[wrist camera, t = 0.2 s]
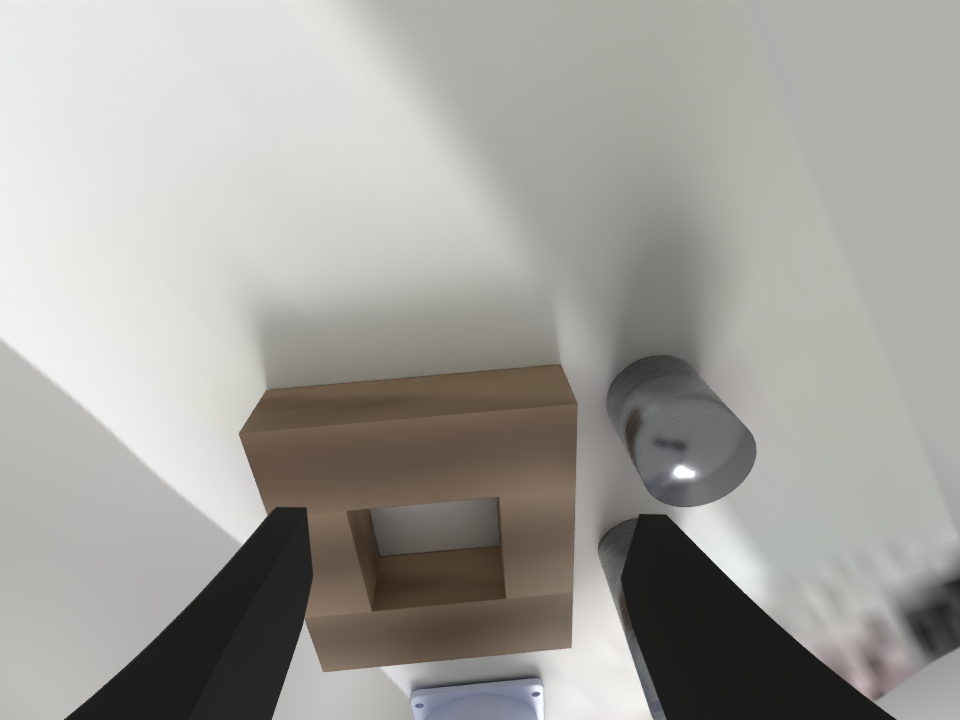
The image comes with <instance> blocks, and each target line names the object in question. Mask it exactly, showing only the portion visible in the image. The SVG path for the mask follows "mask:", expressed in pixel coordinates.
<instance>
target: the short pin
mask: <svg viewBox="0 0 960 720" xmlns="http://www.w3.org/2000/svg"><path fill="white" fill-rule="evenodd" d="M607 411H608V414H609V416H610V418H611V420H612V422H613V424H614V426H615V428H616V430H617V432H618V434H619V436H620V438H621V440H622V442H623V444H624V446H625V448H626V449H627V451H628V453H629V455H630V457H631V459H632V461H633V463H634V465H635V467H636V469H637V471H638V473H639V475H640V477H641V479H642V481H643V483H644V485H645V486H646V488H647V490H648V491H649V493H650V494H651V495H652V496H653V497H655V498H656V499H657V500H659V501H661V502H663V503H665V504H668V505H672V506H677V507H694V506H700V505H704V504H708V503H711V502H714V501H716V500H718V499H720V498H722V497H724V496H726V495H727V494H729V493H730V492H732V491H733V490H734V489H736V488H737V487H738V486H739V485H740V484H741V483H742V482H743V481H744V480H745V478H746V477H747V476H748V474H749V473H750V471H751V469H752V467H753V465H754V462H755V458H756V443H755V440H754V437H753V435H752V434H751V432H750V431H749V430H748V429H747V427H746V426H745V425H744V424H743V423H742V422H741V421H740V420H739V419H738V418H737V417H736V415H735V414H734V413H733V412H732V411H731V410H730V409H729V408H728V407H727V406H726V405H725V403H724V402H723V401H722V400H721V399H720V398H719V397H718V396H717V395H716V394H715V393H714V392H713V390H712V389H711V388H710V387H709V386H708V385H707V384H706V383H705V382H704V381H703V380H702V378H701V377H700V376H699V375H698V374H697V373H696V372H695V371H694V370H693V369H692V368H691V367H690V365H688V364H687V363H686V362H684V361H683V360H681V359H678V358H676V357H672V356H664V355H660V356H651V357H647V358H643V359H641V360H638V361H636V362H634V363H632V364H631V365H629V366H628V367H626V368H625V369H624V370H623V371H622V372H621V373H620V374H619V375H618V376H617V377H616V378H615V380H614V381H613V383H612V384H611V386H610V389H609V391H608V395H607Z"/></svg>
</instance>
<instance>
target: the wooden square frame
mask: <svg viewBox="0 0 960 720" xmlns="http://www.w3.org/2000/svg"><path fill="white" fill-rule="evenodd" d="M239 436H240V439H241V442H242V444H243V447H244V450H245V453H246V456H247V459H248V461H249V464H250V467H251V470H252V473H253V475H254V478H255V481H256V484H257V487H258V489H259V492H260V495H261V498H262V501H263V504H264V506H265V509H266V512H267V515H269V514H270V512H271V511H272V510H273V509H275V508H276V507H307V517H308V527H309V537H310V547H311V557H312V567H313V580H312V585H311V590H310V595H309V599H308V604H307V608H306V613H305V617H304V619H305V622H306V624H307V627H308V630H309V633H310V636H311V638H312V641H313V644H314V647H315V650H316V652H317V655H318V658H319V661H320V664H321V667H322V670H323V672H330V671H340V670H350V669H360V668H371V667H381V666H391V665H401V664H412V663H422V662H432V661H442V660H453V659H463V658H473V657H484V656H494V655H504V654H514V653H525V652H535V651H545V650H555V649H566V648H571V645H572V605H573V565H574V525H575V485H576V445H577V401H576V399H575V397H574V394H573V392H572V390H571V387H570V385H569V383H568V380H567V378H566V376H565V373H564V371H563V369H562V366H561V365H550V366H539V367H527V368H516V369H504V370H493V371H481V372H470V373H458V374H447V375H435V376H424V377H412V378H401V379H389V380H378V381H367V382H355V383H344V384H332V385H321V386H309V387H298V388H286V389H275V390H266V392H265V393H264V395H263V396H262V398H261V399H260V401H259V403H258V404H257V406H256V407H255V409H254V411H253V412H252V414H251V415H250V417H249V418H248V420H247V422H246V423H245V425H244V426H243V428H242V429H241V431H240V433H239ZM492 497H497V510H498V524H499V538H500V546H495V547H484V548H473V549H463V550H452V551H441V552H431V553H420V554H409V555H398V556H388V557H380V555H379V550H378V546H377V541H376V537H375V533H374V528H373V524H372V519H371V515H370V511H369V509H372V508H383V507H394V506H405V505H416V504H426V503H437V502H448V501H459V500H470V499H481V498H492Z"/></svg>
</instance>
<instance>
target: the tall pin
mask: <svg viewBox="0 0 960 720" xmlns="http://www.w3.org/2000/svg"><path fill="white" fill-rule="evenodd" d="M637 521H638V518H635V519H631V520H628V521H625V522H622V523H620V524H618V525H616V526H615V527H613V528H612V529H611V530H609V531H608V532H607V533H606V534H605V536H604V537H603V538H602V540H601V542H600V544H599V549H598V555H599V558H600V562H601V565H602V568H603V571H604V574H605V577H606V580H607V583H608V586H609V589H610V592H611V595H612V598H613V601H614V604H615V607H616V610H617V613H618V616H619V619H620V622H621V625H622V628H623V631H624V634H625V637H626V640H627V643H628V646H629V649H630V652H631V655H632V658H633V661H634V664H635V667H636V670H637V673H638V676H639V679H640V682H641V685H642V688H643V691H644V694H645V697H646V700H647V703H648V706H649V709H650V712H651V715H652V718H653V719H654V720H666V717H665V715H664V712H663V709H662V706H661V704H660V701H659V698H658V696H657V693H656V690H655V688H654V685H653V682H652V680H651V677H650V674H649V672H648V669H647V666H646V664H645V661H644V658H643V655H642V653H641V650H640V647H639V644H638V642H637V639H636V636H635V633H634V631H633V628H632V625H631V621H630V617H629V613H628V609H627V605H626V601H625V597H624V592H623V588H622V583H621V579H620V578H621V575H622V571H623V568H624V565H625V561H626V558H627V555H628V551H629V548H630V544H631V541H632V538H633V534H634V531H635V527H636V524H637Z"/></svg>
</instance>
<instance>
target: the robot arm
mask: <svg viewBox="0 0 960 720" xmlns="http://www.w3.org/2000/svg"><path fill="white" fill-rule="evenodd" d="M620 579H621V583H622V588H623V592H624V597H625V601H626V605H627V609H628V613H629V617H630V621H631V625H632V628H633V631H634V633H635V636H636V639H637V642H638V644H639V647H640V650H641V653H642V655H643V658H644V661H645V664H646V666H647V669H648V672H649V674H650V677H651V680H652V682H653V685H654V688H655V690H656V693H657V696H658V698H659V701H660V704H661V706H662V709H663V712H664V715H665V717H666V720H896V719H895V718H894V717H892V716H890V715H889V714H888V713H886V712H885V711H884V710H882V709H881V708H880V707H878V706H877V705H876V704H875V703H873V702H872V701H871V700H869V699H868V698H867V697H865V696H864V695H863V694H861V693H860V692H859V691H857V690H856V689H855V688H854V687H852V686H851V685H850V684H849V683H847V682H846V681H845V680H844V679H842V678H841V677H840V676H839V675H837V674H836V673H835V672H834V671H832V670H831V669H830V668H829V667H827V666H826V665H825V664H824V663H822V662H821V661H820V660H819V659H818V658H816V657H815V656H814V655H813V654H812V653H810V652H809V651H808V650H807V649H806V648H805V647H803V646H802V645H801V644H800V643H799V642H798V641H796V640H795V639H794V638H793V637H792V636H791V635H790V634H789V633H787V632H786V631H785V630H784V629H783V628H782V627H781V626H780V625H778V624H777V623H776V622H775V621H774V620H773V619H772V618H771V617H770V616H768V615H767V614H766V613H765V612H764V611H763V610H762V609H761V608H760V607H759V606H758V605H757V604H756V603H754V602H753V601H752V600H751V599H750V598H749V597H748V596H747V595H746V594H745V593H744V592H743V591H742V590H741V589H740V588H739V587H738V586H737V585H736V584H735V583H734V582H733V581H732V580H731V579H730V578H729V577H728V576H727V575H726V574H725V573H724V572H723V571H722V570H721V569H720V568H719V567H718V566H717V565H716V564H715V563H714V562H713V561H712V560H711V559H710V558H709V557H708V556H707V555H706V554H705V553H704V552H703V551H702V550H701V549H700V548H699V547H698V546H697V545H696V544H695V543H694V542H693V541H692V540H691V539H690V538H689V537H688V536H687V535H686V534H685V533H684V532H683V531H682V530H681V529H680V528H679V527H678V526H677V525H676V524H675V523H674V522H673V521H672V520H671V519H670V518H669V517H668V516H667V515H657V514H639V517H638V521H637V524H636V527H635V531H634V534H633V538H632V541H631V544H630V548H629V551H628V555H627V558H626V561H625V565H624V568H623V571H622V575H621V578H620ZM312 580H313V567H312V557H311V547H310V537H309V527H308V517H307V507H276V508H275V509H273V510H272V511H271V512H270V514H269V515H268V516H267V517H266V518H265V520H264V521H263V522H262V523H261V524H260V526H259V527H258V528H257V529H256V531H255V532H254V533H253V534H252V535H251V536H250V538H249V539H248V540H247V541H246V542H245V544H244V545H243V546H242V547H241V548H240V549H239V551H238V552H237V553H236V554H235V555H234V556H233V558H232V559H231V560H230V561H229V562H228V563H227V564H226V566H224V567H223V569H222V570H221V571H220V572H219V573H218V574H217V575H216V576H215V578H213V580H212V581H211V582H210V583H209V584H208V585H207V586H206V587H205V588H204V589H203V591H202V592H201V593H200V594H199V595H198V596H197V597H196V598H195V599H194V600H193V601H192V602H191V603H190V604H189V605H188V606H187V607H186V608H185V609H184V610H183V611H182V612H181V613H180V614H179V615H178V616H177V617H176V619H174V620H173V621H172V622H171V623H170V624H169V625H168V626H167V627H166V629H164V630H163V631H162V632H161V633H160V634H159V636H157V637H156V638H155V639H154V640H153V641H152V642H151V643H150V644H149V645H148V646H147V647H146V648H145V649H144V650H143V651H142V652H141V653H140V654H139V655H137V656H136V657H135V658H134V659H133V660H132V661H131V662H130V663H129V664H128V665H127V666H126V667H125V668H123V669H122V670H121V671H120V672H119V673H118V674H117V675H116V676H114V678H112V679H111V680H110V681H109V682H108V683H107V684H105V685H104V686H103V687H102V688H101V689H100V690H99V691H98V692H96V693H95V694H94V695H93V696H92V697H91V698H89V699H88V700H87V701H86V702H85V703H84V704H82V705H81V706H80V707H79V708H77V709H76V710H75V711H74V712H73V713H71V714H70V715H69V716H68V717H67V718H66V719H64V720H272V717H273V714H274V711H275V708H276V705H277V702H278V698H279V695H280V693H281V690H282V686H283V684H284V681H285V677H286V675H287V671H288V669H289V666H290V663H291V660H292V657H293V654H294V651H295V648H296V644H297V641H298V638H299V635H300V632H301V629H302V626H303V622H304V617H305V613H306V608H307V604H308V599H309V595H310V590H311V585H312ZM410 703H411V707H412V711H413V716H414V720H544V685H543V681H542V680H541V679H538V678H531V679H521V680H511V681H501V682H490V683H480V684H470V685H460V686H450V687H440V688H430V689H419V690H415V691H413V692H412V693H411V695H410Z"/></svg>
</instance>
